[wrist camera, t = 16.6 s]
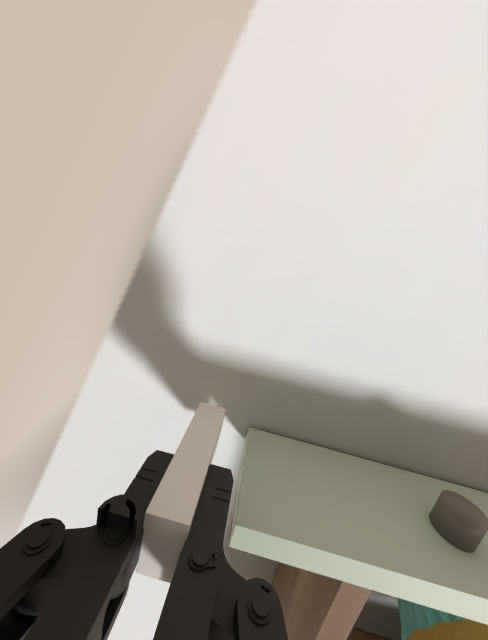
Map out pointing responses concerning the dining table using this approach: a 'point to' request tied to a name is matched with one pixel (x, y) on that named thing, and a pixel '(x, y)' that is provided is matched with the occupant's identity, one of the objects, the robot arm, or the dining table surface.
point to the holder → (319, 605)
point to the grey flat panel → (363, 523)
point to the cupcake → (437, 624)
